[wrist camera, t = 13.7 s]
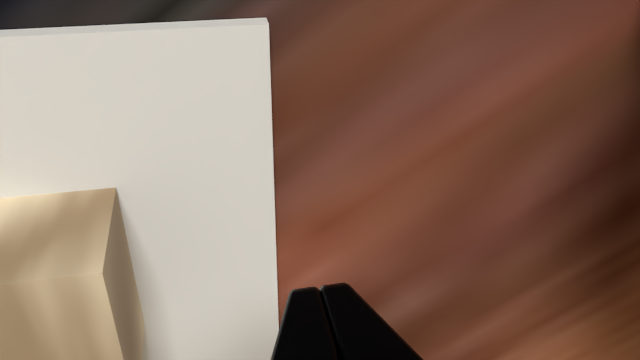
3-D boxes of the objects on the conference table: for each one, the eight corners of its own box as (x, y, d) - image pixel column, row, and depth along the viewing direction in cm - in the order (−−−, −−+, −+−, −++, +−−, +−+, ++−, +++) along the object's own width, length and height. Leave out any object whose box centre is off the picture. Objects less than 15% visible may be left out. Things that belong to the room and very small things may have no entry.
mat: (266, 17, 17) (268, 23, 16) (278, 380, 25) (280, 391, 25) (-300, 43, 14) (-318, 52, 14) (-73, 435, 23) (-79, 449, 23)
